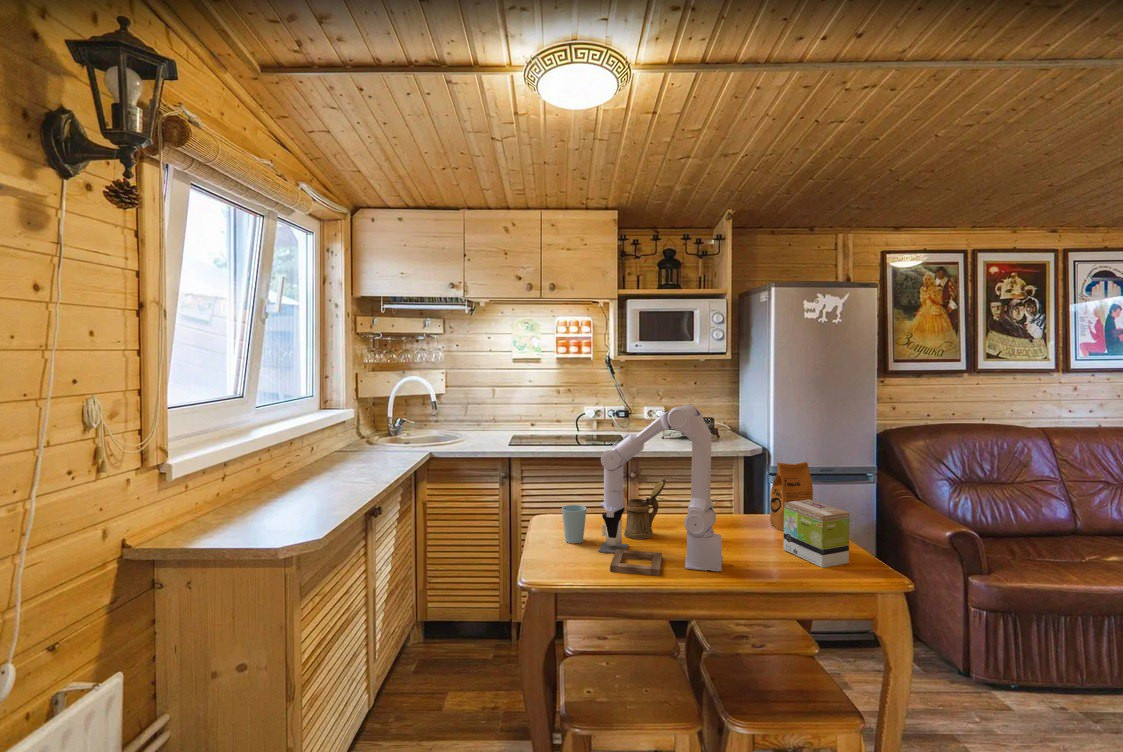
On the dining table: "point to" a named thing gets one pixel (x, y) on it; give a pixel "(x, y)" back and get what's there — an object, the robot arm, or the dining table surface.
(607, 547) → the mat
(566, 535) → the cup
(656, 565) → the jug holder
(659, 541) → the dining table surface
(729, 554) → the dining table surface
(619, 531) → the jug
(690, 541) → the robot arm
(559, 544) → the dining table surface
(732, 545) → the dining table surface
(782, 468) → the coffee package
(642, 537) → the wooden mug
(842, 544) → the tea box
